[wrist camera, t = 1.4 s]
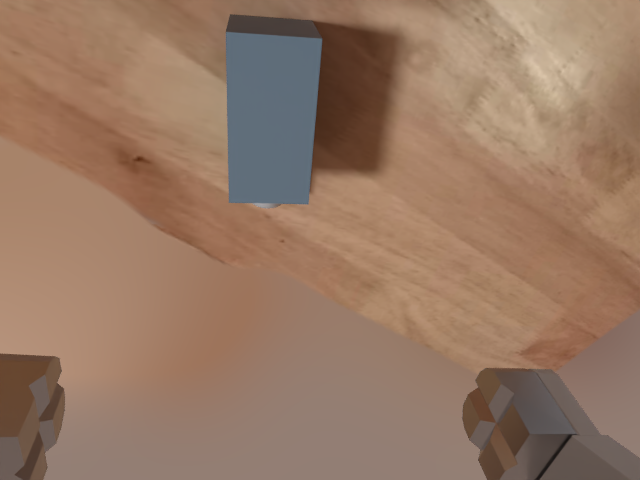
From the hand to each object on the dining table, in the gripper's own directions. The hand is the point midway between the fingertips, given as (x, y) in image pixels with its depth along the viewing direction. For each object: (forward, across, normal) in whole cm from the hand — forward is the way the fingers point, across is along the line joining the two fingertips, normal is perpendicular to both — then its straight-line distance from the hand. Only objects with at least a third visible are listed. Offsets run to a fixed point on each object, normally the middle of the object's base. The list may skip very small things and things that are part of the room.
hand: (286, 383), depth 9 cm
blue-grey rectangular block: (+23, -1, +1) cm, 23 cm away
